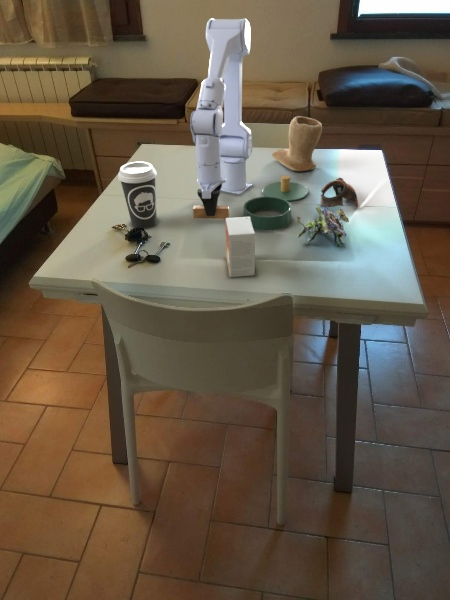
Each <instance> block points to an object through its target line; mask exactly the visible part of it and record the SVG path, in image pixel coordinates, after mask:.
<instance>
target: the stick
mask: <svg viewBox="0 0 450 600" xmlns="http://www.w3.org/2000/svg"><path fill="white" fill-rule="evenodd" d="M192 211H193V213H192V214H193V219H195V220H197V219H199V220H200V219H201V220H203V219H204V220H205V219H207V220H209V219H210V220H225V218H230V205H217V206H216V212H215V216H207V215H206V212H205V209H204V206H203V204H200V205H193V208H192Z"/></svg>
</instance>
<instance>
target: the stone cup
mask: <svg viewBox="0 0 450 600" xmlns="http://www.w3.org/2000/svg"><path fill="white" fill-rule="evenodd" d="M288 128H289V129H288V148H287V149H286V148H285V149H284V148H283V149H278V150H275V151H273V152H272V153H271V157H272V158H273V159H274V160H275V161H276V162H277V163H279V164H281V165H282V166H284V167H286V168H287V169H289V170H290V171H293V172H308V171H312V170H313V169H315V168H316V167H317V164H316V163H315V162H314V160H313V153H314V151H315V149H316V147H317V145H318V143H319V141H320V139H321V137H322V136H321V135H322V133H323V125H322V122H321V121H319V120H318V119H315V118H312V117H307V116H301V115H300V116H298V115H297V116H295V117H293V119H291V121H290V124H289V127H288Z"/></svg>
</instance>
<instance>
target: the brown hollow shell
mask: <svg viewBox="0 0 450 600" xmlns="http://www.w3.org/2000/svg"><path fill="white" fill-rule="evenodd" d="M331 188H332V189H333V191H334V193H335V195H334V196H331V197H327V196H325V194H326V192H327V191H328V190H330V189H331ZM357 196H358V195H357V192H356V190H355V188H354V187H353V186H352V185H351V184H349V183H347V182H346V181H345V180H344V179H343V178H342V177H337V178H336V179H335V180H334V179H333V180H332V181H330V182H328V183H326V184H325V185H324V186H323V187H322V189H321V195H320V206H323V207H326V208H331V207H336V206H341V207H344V200H346V201H350V202H353V203H354V205H355V208H356V209H357V210H358V209H359V208H358V207H359V200H358V197H357Z"/></svg>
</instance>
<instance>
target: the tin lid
mask: <svg viewBox="0 0 450 600" xmlns="http://www.w3.org/2000/svg"><path fill="white" fill-rule="evenodd" d="M261 194H262V196H263V197H266V196H267V197H268V196H269V197H278V198H282V199H284V200H287V201H288V202H289V203H291V202H297V201H300V200H303V199H305V198H306V197H307V196H308V195H309V190H308V188H307V187H306V186H305V185H303V184H300V183H298V182H292V181H291V176H289V175H282V176H281V177H280V181H276V182H271V183H269V184H266V185H265V186H264V187H262V191H261Z"/></svg>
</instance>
